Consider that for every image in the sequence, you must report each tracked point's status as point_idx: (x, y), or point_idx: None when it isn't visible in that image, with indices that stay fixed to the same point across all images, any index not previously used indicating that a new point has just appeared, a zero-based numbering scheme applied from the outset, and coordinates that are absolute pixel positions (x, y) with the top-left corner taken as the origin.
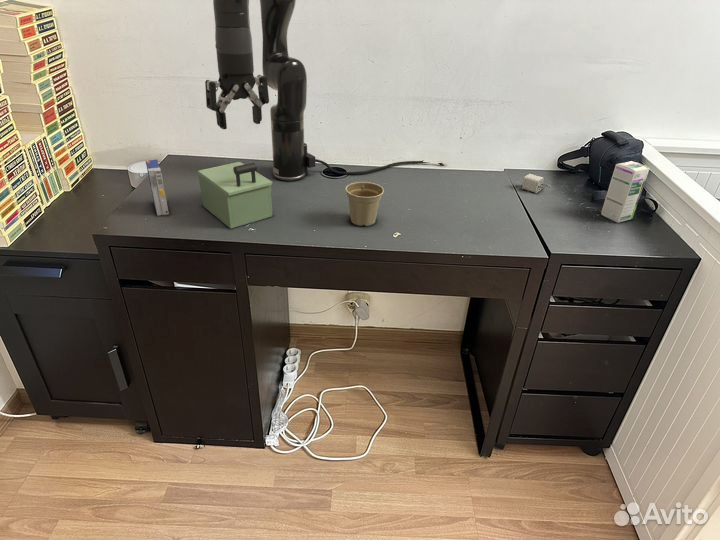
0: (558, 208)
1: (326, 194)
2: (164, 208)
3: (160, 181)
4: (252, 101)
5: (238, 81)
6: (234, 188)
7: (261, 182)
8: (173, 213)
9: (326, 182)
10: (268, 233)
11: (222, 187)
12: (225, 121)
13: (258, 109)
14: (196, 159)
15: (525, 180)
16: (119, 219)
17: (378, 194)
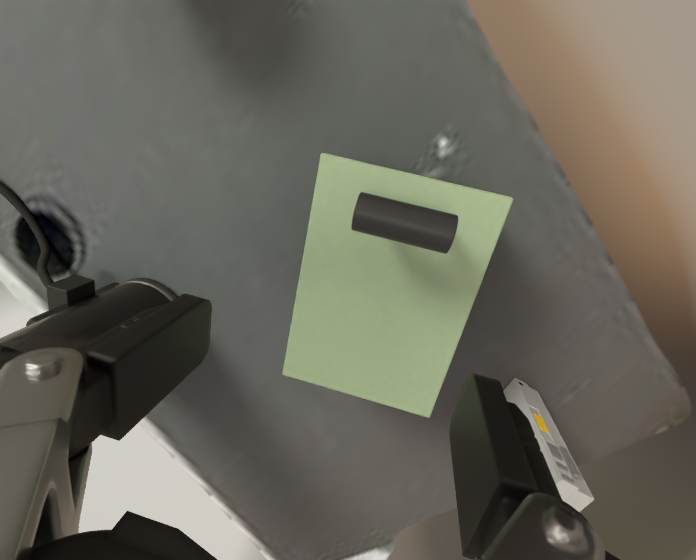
0: None
1: (143, 154)
2: (527, 391)
3: (553, 450)
4: (72, 471)
5: None
6: (466, 212)
7: (355, 179)
8: (503, 373)
9: (99, 213)
10: (432, 85)
11: (488, 253)
12: (490, 412)
13: (110, 348)
14: (263, 526)
15: None
16: (606, 440)
17: None
